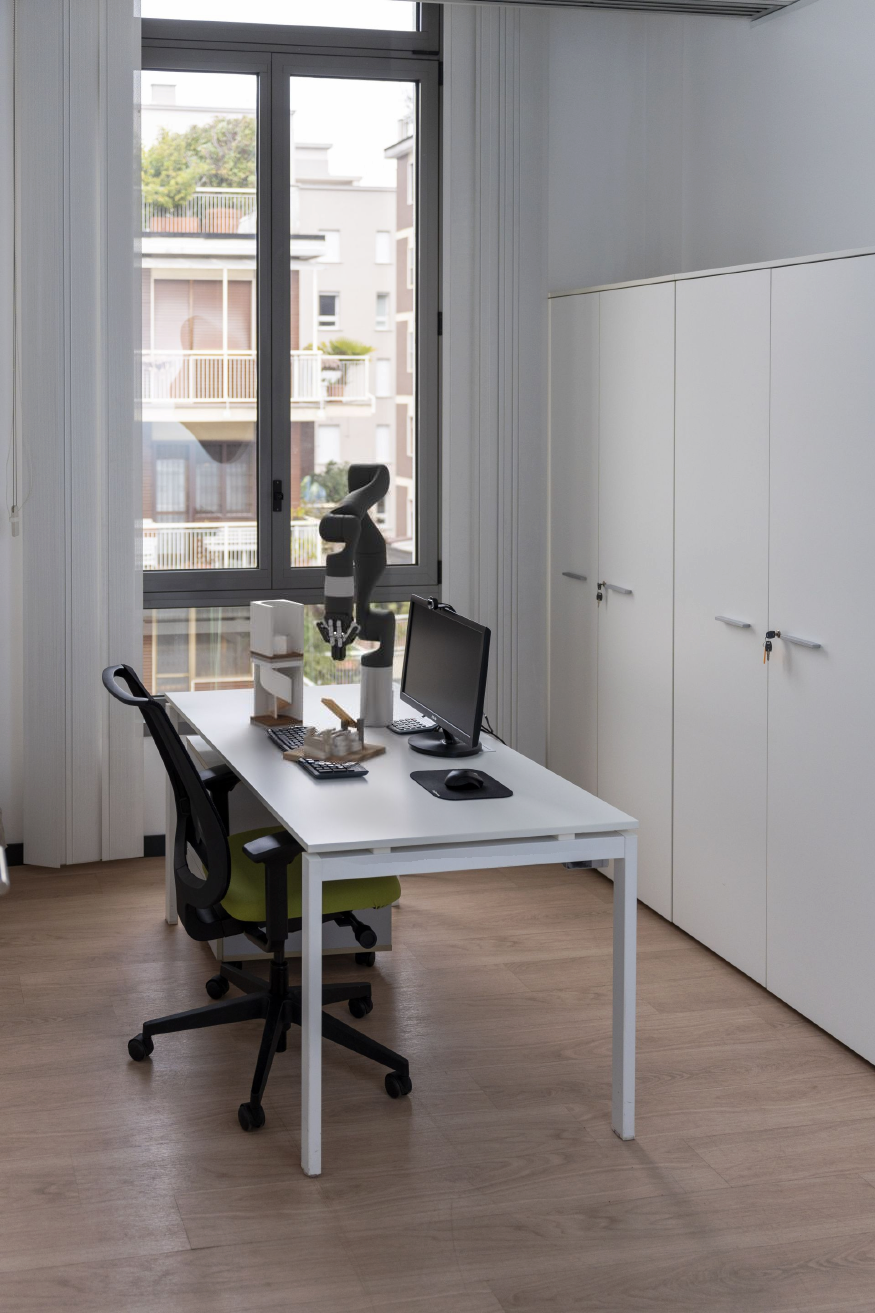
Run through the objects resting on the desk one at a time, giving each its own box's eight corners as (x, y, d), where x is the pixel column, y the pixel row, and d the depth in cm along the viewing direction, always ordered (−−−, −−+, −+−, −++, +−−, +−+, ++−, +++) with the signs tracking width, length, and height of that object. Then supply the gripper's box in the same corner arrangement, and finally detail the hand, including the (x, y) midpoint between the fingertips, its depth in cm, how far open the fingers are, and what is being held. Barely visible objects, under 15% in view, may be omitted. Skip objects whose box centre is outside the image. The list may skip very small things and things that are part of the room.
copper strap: (348, 727, 351) (350, 722, 352) (357, 729, 350) (359, 723, 350) (320, 702, 339) (322, 696, 339) (330, 704, 337) (332, 698, 338)
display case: (250, 723, 378) (250, 601, 372) (282, 719, 384) (283, 599, 378) (269, 731, 369) (270, 606, 363) (302, 727, 375) (303, 604, 369)
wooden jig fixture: (329, 742, 358) (329, 711, 356) (385, 752, 349) (386, 720, 348) (282, 758, 340) (283, 725, 338) (341, 769, 331) (341, 735, 330)
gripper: (369, 594, 338) (368, 661, 341) (325, 589, 344) (325, 655, 347) (353, 597, 331) (352, 665, 334) (309, 592, 338) (308, 659, 341)
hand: (338, 660), depth 341 cm, fingers closed
